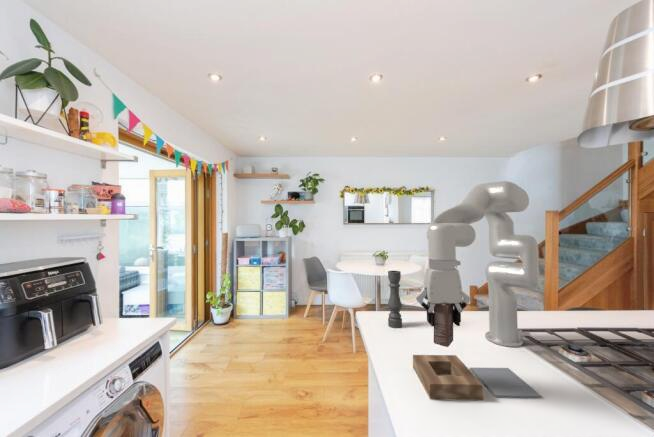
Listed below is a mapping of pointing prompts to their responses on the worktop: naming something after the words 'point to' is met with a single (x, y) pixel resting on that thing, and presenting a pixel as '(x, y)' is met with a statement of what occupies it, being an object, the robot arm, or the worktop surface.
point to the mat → (504, 383)
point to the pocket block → (447, 378)
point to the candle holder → (394, 300)
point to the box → (443, 324)
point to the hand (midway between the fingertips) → (443, 324)
